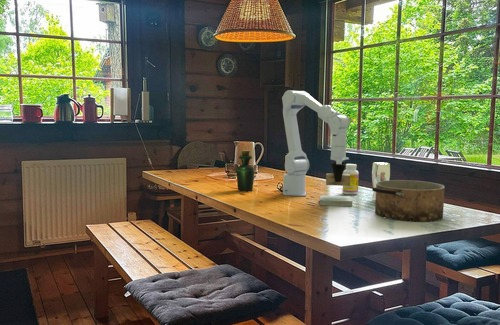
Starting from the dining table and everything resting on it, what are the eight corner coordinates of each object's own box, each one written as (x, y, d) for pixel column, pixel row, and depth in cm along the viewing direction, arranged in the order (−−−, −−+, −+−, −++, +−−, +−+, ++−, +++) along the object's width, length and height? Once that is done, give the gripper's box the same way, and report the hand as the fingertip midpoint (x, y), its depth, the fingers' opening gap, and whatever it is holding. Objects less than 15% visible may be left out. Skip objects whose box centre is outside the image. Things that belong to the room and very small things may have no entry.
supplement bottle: (358, 195, 203) (359, 165, 202) (342, 194, 204) (343, 164, 203) (357, 192, 210) (358, 163, 208) (342, 192, 211) (343, 163, 210)
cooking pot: (403, 226, 148) (404, 192, 147) (353, 213, 167) (354, 183, 166) (464, 217, 163) (466, 186, 162) (412, 205, 182) (413, 178, 181)
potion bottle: (244, 192, 206) (244, 151, 204) (232, 190, 212) (232, 150, 210) (258, 191, 211) (258, 150, 209) (246, 188, 217) (246, 149, 215)
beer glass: (379, 202, 188) (380, 164, 186) (367, 199, 194) (368, 162, 192) (392, 200, 191) (394, 163, 190) (380, 197, 197) (381, 162, 196)
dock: (320, 205, 180) (320, 199, 180) (320, 200, 190) (320, 195, 190) (352, 206, 179) (352, 201, 178) (350, 201, 188) (350, 196, 188)
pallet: (326, 185, 185) (326, 174, 184) (326, 183, 190) (326, 173, 189) (349, 185, 183) (350, 175, 183) (348, 183, 188) (349, 173, 188)
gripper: (350, 147, 177) (349, 183, 179) (347, 145, 191) (346, 178, 193) (331, 147, 178) (330, 183, 180) (330, 144, 192) (329, 178, 194)
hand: (337, 180), depth 186 cm, fingers closed on pallet, 5 cm apart
